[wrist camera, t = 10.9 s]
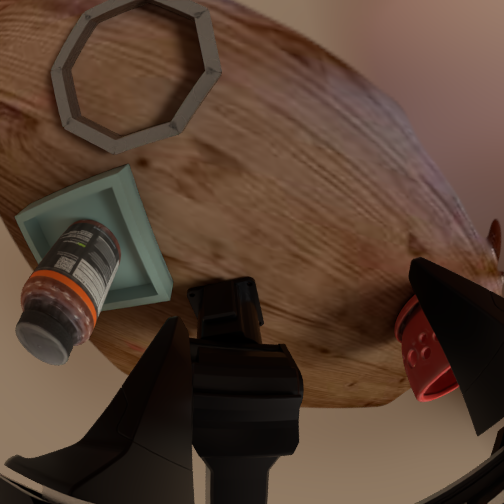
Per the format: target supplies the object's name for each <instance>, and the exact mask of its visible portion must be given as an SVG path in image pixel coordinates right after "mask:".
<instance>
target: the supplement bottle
mask: <svg viewBox="0 0 504 504" xmlns="http://www.w3.org/2000/svg"><path fill="white" fill-rule="evenodd" d="M120 260H121V249H120V246H119V243H118V240H117V239H116V237H115V236H114V234H113V233H112V232H111V231H110V230H109V229H108V228H107V227H106V226H104V225H103V224H101V223H99V222H97V221H93V220H79V221H76V222H74V223H73V224H71V225H70V226H69V227H68V228H67V230H66V231H65V232H64V233H63V234H62V235H61V236H60V238H59V239H58V240H57V241H56V243H55V244H54V245H53V246H52V248H51V249H50V250H49V251H48V253H47V254H46V255H45V256H44V258H43V259H42V261H41V262H40V263H39V265H38V266H37V267H36V269H35V270H34V272H33V273H32V274H31V276H30V277H29V279H28V280H27V282H26V283H25V285H24V287H23V289H22V292H21V306H22V309H23V313H22V315H21V318H20V320H19V322H18V323H17V325H16V335H17V337H18V339H19V341H20V343H21V344H22V345H23V346H24V348H26V349H27V351H28V352H30V353H31V354H32V355H33V356H35V357H36V358H38V359H40V360H41V361H43V362H46V363H48V364H51V365H63V364H65V363H66V362H67V361H68V358H69V356H70V352H71V351H72V349H73V346H75V345H80V344H82V343H84V342H86V341H87V340H88V339H89V337H90V336H91V334H92V332H93V329H94V327H95V324H96V321H97V319H98V316H99V314H100V311H101V308H102V306H103V303H104V301H105V298H106V296H107V293H108V291H109V288H110V286H111V284H112V283H113V282H112V281H113V279H114V276H115V274H116V272H117V269H118V266H119V264H120Z"/></svg>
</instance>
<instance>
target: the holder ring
mask: <svg viewBox="0 0 504 504" xmlns="http://www.w3.org/2000/svg"><path fill="white" fill-rule="evenodd" d="M147 3H152V4H155V5H157V6H160V7H162V8H165V9H167V10H170V11H172V12H174V13H177V14H179V15H181V16H184V17H186V18H188V19H190V20H192V21H194V22H195V23H196V28H197V33H198V37H199V42H200V47H201V52H202V57H203V61H204V66H205V72H204V73H203V74H202V76H201V77H200V78H199V80H198V81H197V83H196V84H195V86H194V87H193V88H192V90H191V91H190V93H189V94H188V96H187V97H186V99H185V100H184V102H183V103H182V105H181V106H180V108H179V110H178V111H177V113H176V114H175V116H174V118H173V119H172V121H169V122H166V123H162V124H159V125H156V126H152V127H149V128H146V129H143V130H140V131H137V132H134V133H131V134H129V135H126V136H123V137H122V136H120V135H118V134H116V133H115V132H113V131H111V130H109V129H107V128H105V127H103V126H101V125H99V124H97V123H95V122H93V121H91V120H89V119H87V118H85V117H83V116H81V113H80V109H79V105H78V101H77V97H76V92H75V88H74V83H73V78H72V73H71V69H72V67H73V65H74V63H75V61H76V59H77V57H78V56H79V54H80V52H81V50H82V48H83V47H84V45H85V43H86V42H87V40H88V38H89V37H90V35H91V33H92V32H93V30H94V29H95V27H96V26H97V24H98V23H100V22H102V21H104V20H106V19H109V18H111V17H113V16H116V15H118V14H120V13H123V12H125V11H128V10H131V9H133V8H136V7H139V6H142V5H144V4H147ZM51 70H52V71H51V77H52V83H53V88H54V93H55V97H56V102H57V106H58V110H59V114H60V118H61V122H62V126H63V127H64V129H66V130H68V131H70V132H71V133H73V134H75V135H77V136H79V137H81V138H83V139H85V140H87V141H89V142H91V143H93V144H94V145H96V146H98V147H100V148H102V149H104V150H106V151H108V152H110V153H112V154H115V155H116V154H119V153H121V152H124V151H127V150H130V149H133V148H136V147H139V146H142V145H145V144H148V143H152V142H155V141H158V140H161V139H165V138H168V137H172V136H176V135H179V134H180V133H181V132H182V131H184V129H185V127H186V126H187V124H188V123H189V121H190V120H191V118H192V117H193V115H194V114H195V112H196V111H197V109H198V108H199V106H200V105H201V103H202V102H203V100H204V99H205V97H206V96H207V95H208V93H209V92H210V90H211V89H212V88H213V86H214V85H215V83H216V82H217V81H218V79H219V78H220V77H221V73H222V70H221V65H220V60H219V56H218V51H217V46H216V41H215V36H214V32H213V27H212V22H211V17H210V12H209V10H208V8H206V7H204V6H201V5H199V4H197V3H195V2H193V1H190V0H108V1H106V2H104V3H102V4H99V5H97V6H95V7H93V8H91V9H89V10H87V11H85V14H84V13H83V14H82V15H81V17H80V18H79V20H78V22H77V23H76V25H75V26H74V28H73V30H72V31H71V33H70V35H69V36H68V38H67V40H66V42H65V43H64V45H63V47H62V49H61V51H60V53H59V55H58V57H57V59H56V61H55V63H54V65H53V67H52V69H51Z"/></svg>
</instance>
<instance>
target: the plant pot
mask: <svg viewBox="0 0 504 504" xmlns="http://www.w3.org/2000/svg"><path fill="white" fill-rule="evenodd" d="M394 333H395V337H396V339H397V340H398V341H399V342H401V343H402V356H403V362H404V367H405V370H406V374H407V377H408V380H409V382H410V385H411V388H412V390H413V392H414V394H415V397H416V399H417V400H418V401H420V402H426V401H431V400H434V399H437V398H439V397H441V396H443V395H445V394H447V393H449V392H451V391H452V390H454V389H456V388H457V387H459V385H458V383H457V380H456V378H455V376H454V373H453V371H452V369H451V367H450V364H449V362H448V360H447V358H446V356H445V354H444V352H443V349H442V347H441V345H440V343H439V341H438V339H437V337H436V335H435V333H434V331H433V330H432V328H431V326H430V324H429V322H428V320H427V318H426V316H425V314H424V312H423V310H422V308H421V306H420V304H419V301H418V299H417V297H416V295H414V296H413V297H412V298H411V299H410V300H409V301H408V302H407V303H406V304H405V306H404V307H403V308H402V310H401V312H400V313H399V315H398V317H397V320H396V323H395V329H394ZM414 365H415V367H414ZM447 370H448V371H447ZM446 371H447V373H445V372H446Z"/></svg>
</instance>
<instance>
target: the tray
mask: <svg viewBox="0 0 504 504" xmlns="http://www.w3.org/2000/svg"><path fill="white" fill-rule="evenodd" d="M15 219H16V221H17V223H18V225H19V228H20V230H21V232H22V234H23V236H24V238H25V240H26V242H27V244H28V246H29V248H30V250H31V251H32V253H33V255H34V257H35V259H36V261H37V262H38V264H39V263H40V262H41V261H42V259H43V258H44V256H45V255H46V254H47V253H48V251H49V250H50V249H51V248H52V246H53V245H54V244H55V243H56V241H57V240H58V239H59V238H60V236H61V235H62V234H63V233H64V232H65V231H66V230H67V228H68V227H69V226H70V225H71V224H73V223H74V222H76V221H79V220H93V221H97V222H99V223H101V224H103V225H104V226H106V227H107V228H108V229H109V230H110V231H111V232H112V233H113V234H114V236H115V237H116V239H117V240H118V243H119V246H120V249H121V260H120V264H119V266H118V269H117V272H116V274H115V276H114V279H113V281H112V282H113V283H112V284H111V286H110V288H109V291H108V293H107V296H106V298H105V301H104V303H103V306H102V308H101V311H106V310H113V309H120V308H126V307H133V306H139V305H145V304H151V303H157V302H163V301H169V300H170V298H171V292H172V287H173V280H172V278H171V275H170V273H169V271H168V268H167V266H166V264H165V261H164V259H163V256H162V254H161V251H160V249H159V247H158V244H157V241H156V239H155V236H154V234H153V231H152V229H151V226H150V223H149V221H148V218H147V215H146V212H145V210H144V207H143V204H142V201H141V198H140V196H139V193H138V190H137V187H136V184H135V181H134V178H133V175H132V172H131V169H130V165H129V164H126V165H123V166H120V167H118V168H115V169H112V170H109V171H106V172H104V173H101V174H98V175H96V176H93V177H90V178H88V179H85V180H83V181H80V182H78V183H75V184H73V185H71V186H68V187H66V188H64V189H61V190H59V191H57V192H55V193H52V194H50V195H48V196H46V197H44V198H42V199H40V200H37V201H35V202H33V203H31V204H29V205H28V206H27V207H26V208H24V209H23V210H22V211H21V212H20V213H19V214H17V215H16V216H15Z"/></svg>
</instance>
